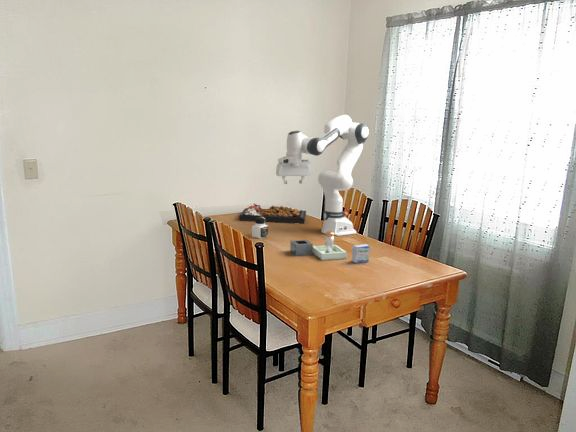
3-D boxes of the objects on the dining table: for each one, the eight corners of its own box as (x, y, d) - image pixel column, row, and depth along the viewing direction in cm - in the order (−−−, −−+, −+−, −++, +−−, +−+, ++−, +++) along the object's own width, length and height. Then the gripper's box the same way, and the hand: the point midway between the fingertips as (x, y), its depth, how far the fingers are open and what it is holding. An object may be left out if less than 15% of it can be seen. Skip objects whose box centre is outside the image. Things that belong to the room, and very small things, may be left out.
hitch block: (306, 249, 265) (306, 239, 264) (312, 254, 257) (312, 244, 255) (290, 251, 262) (290, 240, 261) (295, 256, 254) (296, 245, 252)
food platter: (239, 221, 328) (239, 207, 326) (245, 214, 352) (245, 200, 350) (304, 224, 325) (304, 210, 323) (305, 216, 349) (306, 203, 347)
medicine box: (356, 263, 245) (357, 247, 243) (351, 261, 248) (352, 245, 246) (368, 261, 248) (369, 245, 246) (363, 259, 252) (364, 243, 250)
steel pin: (331, 252, 259) (332, 231, 256) (334, 254, 255) (335, 233, 252) (323, 253, 258) (324, 231, 255) (326, 255, 254) (327, 233, 251)
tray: (335, 250, 265) (335, 244, 264) (346, 258, 252) (346, 252, 251) (312, 252, 261) (312, 246, 260) (321, 260, 248) (322, 254, 247)
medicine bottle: (260, 239, 285) (261, 219, 282) (251, 236, 289) (251, 217, 286) (268, 236, 290) (268, 217, 288) (259, 234, 294) (259, 215, 292)
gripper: (308, 159, 279) (307, 182, 282) (275, 159, 273) (274, 183, 276) (312, 160, 273) (311, 184, 276) (278, 160, 267) (278, 184, 270)
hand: (293, 183), depth 276 cm, fingers open, 8 cm apart
